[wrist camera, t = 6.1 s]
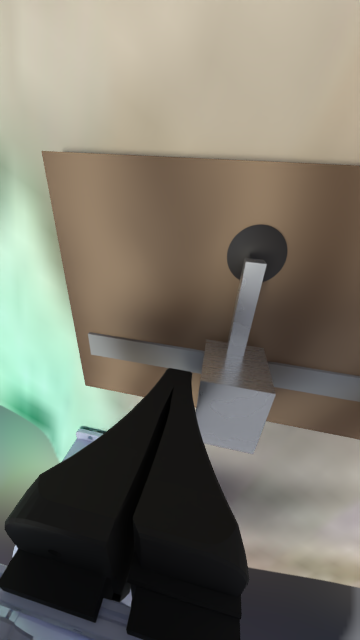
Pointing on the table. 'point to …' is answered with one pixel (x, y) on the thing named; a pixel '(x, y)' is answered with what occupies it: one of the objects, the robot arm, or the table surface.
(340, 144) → the table surface
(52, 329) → the table surface
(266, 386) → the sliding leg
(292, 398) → the gauge board
